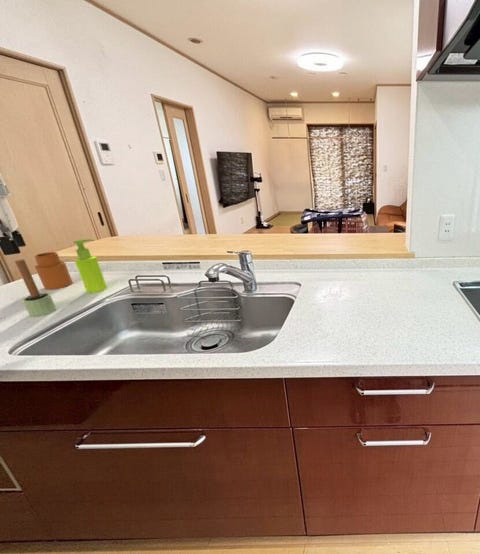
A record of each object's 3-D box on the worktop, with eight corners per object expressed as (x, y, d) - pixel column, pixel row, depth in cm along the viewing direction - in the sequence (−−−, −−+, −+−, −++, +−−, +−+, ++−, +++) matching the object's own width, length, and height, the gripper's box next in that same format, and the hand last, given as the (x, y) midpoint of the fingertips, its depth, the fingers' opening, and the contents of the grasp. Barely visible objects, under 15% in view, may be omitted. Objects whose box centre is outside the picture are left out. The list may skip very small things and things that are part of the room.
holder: (28, 320, 93) (20, 303, 91) (31, 312, 97) (23, 296, 95) (56, 314, 97) (49, 297, 94) (57, 307, 101) (51, 291, 99)
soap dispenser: (113, 289, 115) (95, 239, 108) (90, 295, 110) (70, 243, 102) (107, 285, 118) (89, 236, 110) (84, 291, 113) (65, 240, 105)
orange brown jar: (43, 291, 112) (29, 259, 107) (45, 284, 118) (32, 253, 113) (72, 285, 117) (59, 254, 112) (73, 280, 123) (61, 250, 118)
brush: (34, 315, 94) (9, 262, 88) (36, 311, 97) (11, 259, 90) (50, 312, 97) (27, 260, 90) (51, 308, 99) (28, 257, 92)
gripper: (-25, 190, 86) (3, 246, 93) (-44, 195, 74) (-11, 260, 81) (13, 188, 91) (37, 242, 97) (1, 193, 79) (29, 254, 85)
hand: (15, 250), depth 89 cm, fingers open, 9 cm apart
